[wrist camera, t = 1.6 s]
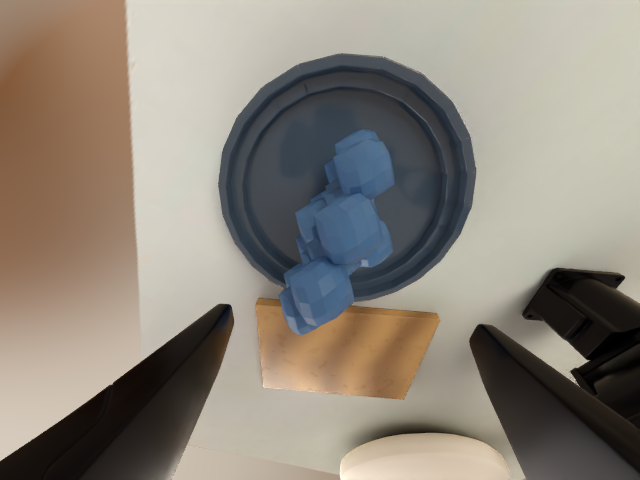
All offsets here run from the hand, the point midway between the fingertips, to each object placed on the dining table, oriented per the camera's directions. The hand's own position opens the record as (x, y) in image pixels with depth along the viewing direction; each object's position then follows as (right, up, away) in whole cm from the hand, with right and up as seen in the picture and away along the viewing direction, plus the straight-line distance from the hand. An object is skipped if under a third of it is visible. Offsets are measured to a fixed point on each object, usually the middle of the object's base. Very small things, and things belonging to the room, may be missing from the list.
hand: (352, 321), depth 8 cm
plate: (+16, -36, +34) cm, 52 cm away
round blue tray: (+1, +6, +11) cm, 13 cm away
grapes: (+1, +6, +11) cm, 13 cm away
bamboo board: (+1, -11, +21) cm, 24 cm away
